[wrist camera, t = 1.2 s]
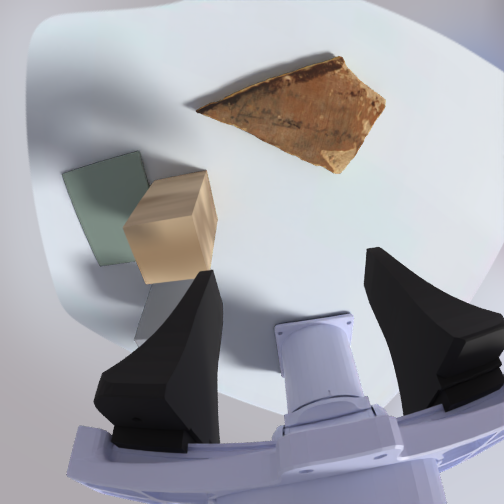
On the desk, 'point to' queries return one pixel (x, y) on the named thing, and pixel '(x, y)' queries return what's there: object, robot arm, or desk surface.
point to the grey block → (159, 307)
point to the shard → (306, 113)
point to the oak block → (173, 228)
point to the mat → (108, 203)
